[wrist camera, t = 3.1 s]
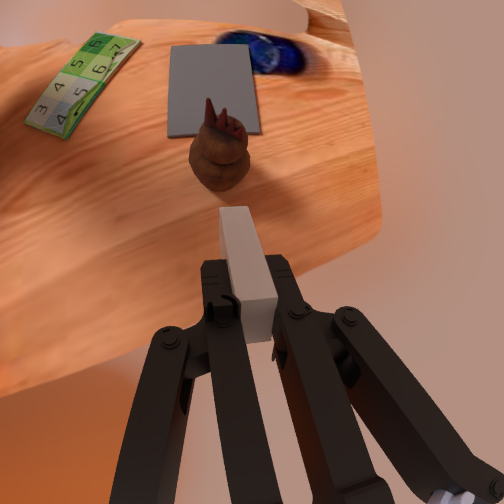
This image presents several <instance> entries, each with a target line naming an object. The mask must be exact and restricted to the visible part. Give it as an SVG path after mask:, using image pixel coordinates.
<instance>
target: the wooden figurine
mask: <svg viewBox="0 0 504 504" xmlns="http://www.w3.org/2000/svg"><path fill="white" fill-rule="evenodd" d="M247 145H248V135H247V132H246V129H245V127H244V126H243V124H242V123H241V121H239V120H238V119H236V118H234V117H232V116H229V115H227V109H226V108H223V110H222V112H221V114H218V115H216V113H215V110H214V107H213V104H212V101H211V99H210V98H207V99H206V106H205V118H204V122H203V124H202V125H201V127H200V129H199V134H197V135H196V137H195V139H194V141H193V142H192V144H191V146H190V154H189V163H190V165H191V167H192V170H193V172H194V174H195V175H196V177H197V178H198V179H199V180H200V182H201V183H202V184H203V185H205V186H206V187H207V188H209V189H211V190H213V191H221V192H223V191H226V190H228V189H231V188H233V187H234V186H235V185H236V184H238V183H239V182H240V181H241V180H242V179H243V178H244V176H245V175H246V174H247V172H248V170H249V167H250V155H249V153H248V151H247Z"/></svg>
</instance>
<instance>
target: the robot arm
mask: <svg viewBox="0 0 504 504" xmlns="http://www.w3.org/2000/svg"><path fill="white" fill-rule="evenodd" d="M219 237H220V254H221V259H220V260H206V261H204V263H203V265H202V266H201V268H200V269H201V282H202V294H203V305H204V315H203V317H202V319H201V320H200V321H199V322H198V323H197V324H196V325H194V326H192V327H190V328H187V329H184V330H182V329H181V328H179V327H175V326H167V327H164V328H161V329H159V330H158V331H157V332H156V333H155V334H154V336H153V338H152V341H151V344H150V347H149V350H148V354H147V357H146V360H145V363H144V367H143V370H142V373H141V376H140V380H139V383H138V387H137V391H136V394H135V397H134V401H133V404H132V408H131V412H130V416H129V419H128V423H127V427H126V431H125V435H124V439H123V443H122V446H121V450H120V455H119V459H118V463H117V468H116V472H115V477H114V481H113V486H112V491H111V496H110V501H109V504H174V501H175V494H176V487H177V480H178V474H179V468H180V462H181V456H182V450H183V444H184V438H185V432H186V426H187V420H188V415H189V410H190V404H191V398H192V393H193V387H194V382H195V378H197V377H199V376H202V375H204V374H206V373H209V372H211V378H212V386H213V393H214V401H215V408H216V415H217V422H218V428H219V435H220V441H221V447H222V453H223V459H224V465H225V470H226V476H227V482H228V487H229V492H230V497H231V503H232V504H283V502H282V499H281V495H280V491H279V487H278V483H277V479H276V475H275V471H274V467H273V462H272V458H271V454H270V449H269V445H268V441H267V437H266V433H265V428H264V424H263V420H262V415H261V411H260V406H259V402H258V397H257V393H256V388H255V384H254V379H253V375H252V370H251V365H250V360H249V356H248V351H247V346H246V344H248V343H257V342H265V341H271V336H272V335H273V339H274V348H273V353H272V361H274V360H275V358H276V362H277V366H278V369H279V373H280V377H281V381H282V384H283V388H284V392H285V396H286V399H287V403H288V407H289V410H290V414H291V418H292V422H293V425H294V429H295V433H296V436H297V439H298V444H299V447H300V451H301V455H302V458H303V462H304V465H305V469H306V473H307V477H308V480H309V484H310V487H311V491H312V494H313V502H312V504H395V502H394V500H393V496H392V493H391V490H390V488H389V486H388V484H387V483H386V481H385V480H384V479H383V478H381V477H379V476H378V475H377V474H376V472H375V470H374V467H373V464H372V461H371V459H370V456H369V453H368V450H367V448H366V445H365V442H364V439H363V436H362V433H361V431H360V428H359V425H358V422H357V420H356V417H355V414H354V412H353V409H352V407H351V405H352V406H353V408H354V409H355V410H356V412H357V413H358V415H359V416H360V417H361V419H362V421H363V422H364V424H365V425H366V427H367V428H368V429H369V431H370V432H371V434H372V435H373V437H374V438H375V440H376V441H377V442H378V444H379V445H380V447H381V448H382V450H383V451H384V453H385V454H386V456H387V457H388V459H389V460H390V461H391V463H392V464H393V466H394V467H395V469H396V470H397V472H398V473H399V475H400V476H401V477H402V479H403V480H404V482H405V483H406V485H407V486H408V487H409V488H410V490H411V491H412V492H413V493H414V494H415V495H416V496H417V497H418V498H419V499H421V500H422V501H423V502H425V503H426V504H496V503H498V502H499V501H501V500H502V499H503V497H504V474H503V473H501V472H500V471H498V470H496V469H495V468H493V467H492V466H490V465H488V464H486V463H485V462H484V461H482V460H480V459H479V458H477V457H476V456H474V455H473V454H472V452H471V451H470V450H469V448H468V447H467V445H466V444H465V443H464V442H463V440H462V439H461V437H460V436H459V434H458V433H457V432H456V430H455V429H454V428H453V426H452V425H451V424H450V422H449V421H448V420H447V418H446V417H445V416H444V414H443V413H442V412H441V410H440V409H439V408H438V406H437V405H436V404H435V402H434V401H433V400H432V399H431V397H430V396H429V395H428V393H427V392H426V391H425V390H424V388H423V387H422V386H421V385H420V383H419V382H418V381H417V379H416V378H415V377H414V376H413V374H412V373H411V372H410V371H409V369H408V368H407V367H406V366H405V364H404V363H403V362H402V361H401V359H400V358H399V357H398V356H397V355H396V353H395V352H394V351H393V349H392V348H391V347H390V346H389V345H388V343H387V342H386V341H385V340H384V339H383V337H382V336H381V335H380V334H379V333H378V331H377V330H376V329H375V328H374V327H373V325H372V324H371V323H370V322H369V321H368V319H367V318H366V317H365V316H364V315H363V313H361V312H360V311H359V310H358V309H356V308H354V307H349V306H345V307H340V308H339V309H337V310H336V312H335V314H333V313H325V312H319V311H316V310H314V309H313V308H312V307H311V306H310V305H309V304H308V303H306V302H305V301H304V300H303V297H302V295H301V293H300V290H299V287H298V285H297V283H296V280H295V278H294V275H293V273H292V271H291V268H290V265H289V263H288V261H287V260H286V259H285V258H284V257H283V256H282V255H281V254H278V255H265V256H264V253H263V250H262V247H261V244H260V241H259V238H258V235H257V232H256V229H255V226H254V223H253V220H252V217H251V214H250V211H249V208H248V206H233V207H219ZM350 403H351V404H350Z"/></svg>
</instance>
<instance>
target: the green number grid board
mask: <svg viewBox="0 0 504 504" xmlns="http://www.w3.org/2000/svg"><path fill="white" fill-rule="evenodd" d="M140 44H141V40H138V39H134V38H129V37H125V36H120V35H115V34H109V33H103V32H98V31H96V32H95V33H94V34H93V35H92V36H91V37H90V38H89V39H88V40H87V41H86V42H85V43H84V45H83V46H82V47H81V48H80V49H79V50H78V51H77V52H76V53H75V54H74V55H73V57H72V58H71V59H70V60H69V61H68V62H67V63H66V65H65V66H64V67H63V68H62V69H61V71H60V72H59V73H58V74H57V76H56V77H55V78H54V79H53V81H52V82H51V83H50V84H49V86H48V87H47V88H46V90H45V91H44V92H43V94H42V95H41V96H40V98H39V99H38V101H37V102H36V103H35V105H34V106H33V108H32V109H31V111H30V112H29V114H28V115H27V117H26V118H25V120H24V121H23V122H24V123H25V124H27V125H29V126H32V127H34V128H37V129H39V130H42V131H44V132H47V133H49V134H52V135H54V136H57V137H59V138H62V139H64V140H67V139H68V137H69V136H70V134H71V133H72V131H73V130H74V128H75V127H76V125H77V124H78V122H79V121H80V119H81V118H82V116H83V115H84V113H85V112H86V111H87V109H88V108H89V106H90V105H91V104H92V102H93V101H94V99H95V98H96V97H97V95H98V94H99V93H100V92H101V90H102V89H103V88H104V86H105V85H106V84H107V83H108V81H109V80H110V79H111V78H112V76H113V75H114V74H115V73H116V71H117V70H118V69H119V68H120V67H121V66H122V64H123V63H124V62H125V61H126V60H127V59H128V58H129V56H130V55H131V54H132V53H133V52H134V51H135V50H136V49H137V48H138V47H139V45H140Z"/></svg>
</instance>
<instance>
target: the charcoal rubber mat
mask: <svg viewBox="0 0 504 504" xmlns="http://www.w3.org/2000/svg"><path fill="white" fill-rule="evenodd" d="M207 98H210V99H211V101H212V104H213V107H214V110H215V113H216V115H218V114H221V112H222V110H223V108H226V109H227V115H229V116H232V117H234V118H236V119H238V120H239V121H241V123H242V124H243V126H244V127H245V129H246V132H247V134H259V133H260V129H259V121H258V113H257V106H256V98H255V91H254V84H253V77H252V70H251V63H250V56H249V49H248V45H239V44H203V45H181V46H171V56H170V71H169V92H168V130H167V136H168V138H172V137H186V136H196V135H197V134H199V129H200V127H201V125H202V124H203V122H204V118H205V106H206V99H207Z"/></svg>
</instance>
